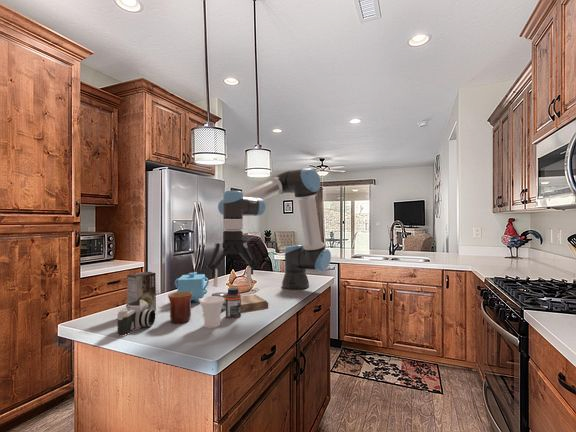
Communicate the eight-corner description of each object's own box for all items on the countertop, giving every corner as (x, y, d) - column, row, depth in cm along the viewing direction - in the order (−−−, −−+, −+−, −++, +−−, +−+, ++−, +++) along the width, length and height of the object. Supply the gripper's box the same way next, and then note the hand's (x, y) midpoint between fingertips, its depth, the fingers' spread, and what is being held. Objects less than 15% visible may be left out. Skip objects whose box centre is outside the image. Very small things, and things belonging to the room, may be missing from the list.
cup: (202, 321, 117) (202, 295, 117) (227, 322, 117) (227, 295, 117) (194, 330, 108) (194, 301, 108) (221, 330, 108) (221, 301, 108)
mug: (193, 323, 115) (193, 295, 115) (168, 326, 112) (168, 298, 112) (190, 314, 126) (190, 288, 126) (167, 316, 123) (167, 290, 123)
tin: (224, 306, 136) (224, 291, 136) (229, 310, 131) (229, 295, 131) (209, 309, 133) (209, 293, 133) (214, 313, 128) (214, 296, 128)
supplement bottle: (227, 314, 125) (226, 286, 125) (241, 314, 126) (241, 286, 126) (224, 319, 119) (224, 290, 119) (239, 319, 120) (239, 290, 120)
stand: (255, 300, 146) (255, 294, 146) (268, 308, 134) (268, 301, 134) (226, 304, 140) (226, 297, 140) (237, 313, 127) (237, 305, 127)
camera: (138, 337, 102) (138, 307, 102) (112, 337, 103) (112, 307, 103) (160, 321, 118) (160, 294, 118) (137, 321, 118) (137, 294, 118)
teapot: (207, 303, 142) (207, 274, 142) (171, 304, 140) (171, 275, 140) (211, 293, 160) (211, 268, 160) (179, 294, 158) (179, 269, 158)
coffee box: (146, 308, 134) (146, 271, 134) (156, 310, 131) (156, 272, 131) (126, 314, 126) (126, 274, 126) (136, 317, 123) (136, 276, 123)
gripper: (258, 229, 132) (258, 280, 132) (198, 230, 120) (198, 285, 120) (265, 230, 125) (265, 283, 125) (203, 231, 113) (202, 289, 113)
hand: (232, 284), depth 122 cm, fingers open, 13 cm apart
